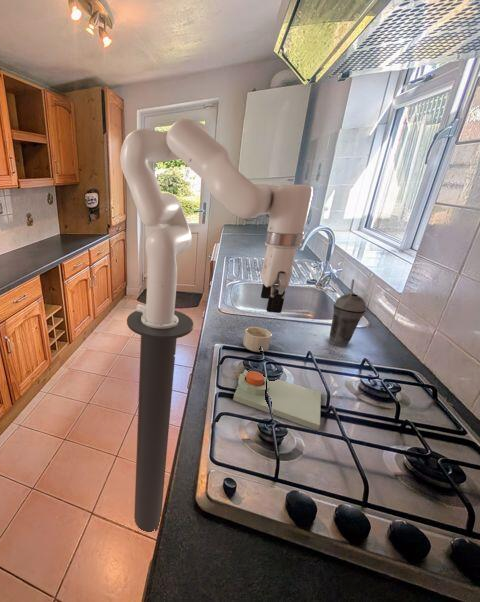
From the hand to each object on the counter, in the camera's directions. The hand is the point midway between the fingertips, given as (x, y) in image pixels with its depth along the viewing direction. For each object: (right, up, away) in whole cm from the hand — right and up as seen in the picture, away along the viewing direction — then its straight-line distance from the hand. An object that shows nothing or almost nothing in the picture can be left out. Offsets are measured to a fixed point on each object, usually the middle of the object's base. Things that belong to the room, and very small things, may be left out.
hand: (270, 304), depth 79 cm
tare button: (-9, -18, -8) cm, 22 cm away
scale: (-4, -21, -10) cm, 24 cm away
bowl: (+2, -13, +11) cm, 17 cm away
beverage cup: (+27, -12, +12) cm, 32 cm away
